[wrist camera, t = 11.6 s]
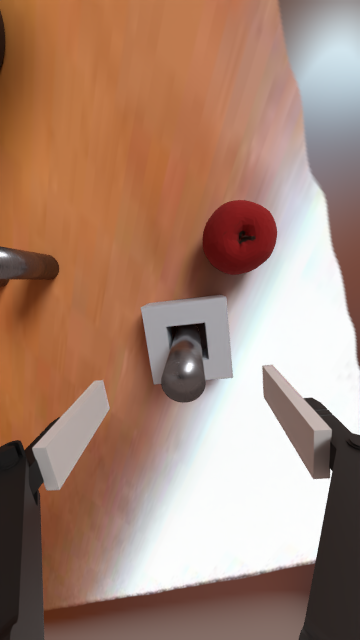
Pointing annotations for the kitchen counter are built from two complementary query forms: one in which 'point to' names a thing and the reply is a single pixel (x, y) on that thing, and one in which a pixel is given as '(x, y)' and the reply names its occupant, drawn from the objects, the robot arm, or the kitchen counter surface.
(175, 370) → the long pin
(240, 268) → the apple
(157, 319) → the hole block
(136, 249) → the kitchen counter surface
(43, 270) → the medium pin
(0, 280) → the short pin
